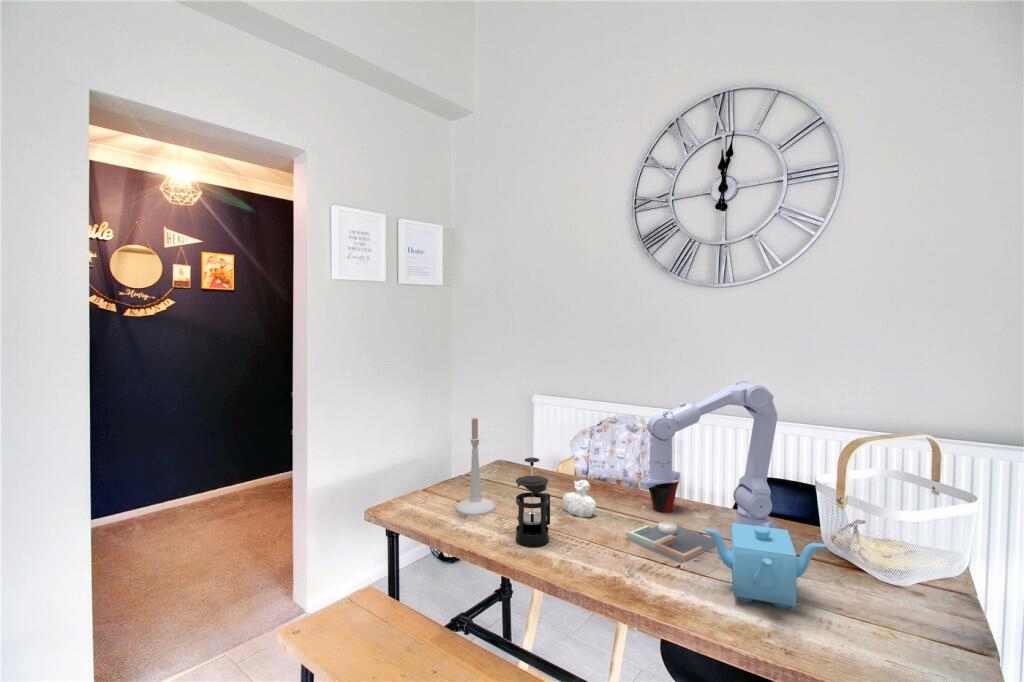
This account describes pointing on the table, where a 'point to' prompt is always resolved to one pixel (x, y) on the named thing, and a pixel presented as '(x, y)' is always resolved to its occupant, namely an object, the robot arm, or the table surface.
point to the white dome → (667, 528)
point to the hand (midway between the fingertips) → (660, 510)
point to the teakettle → (763, 563)
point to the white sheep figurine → (579, 500)
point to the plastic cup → (671, 498)
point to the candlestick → (475, 483)
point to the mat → (678, 541)
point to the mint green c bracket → (637, 536)
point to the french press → (532, 520)
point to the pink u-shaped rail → (682, 556)
